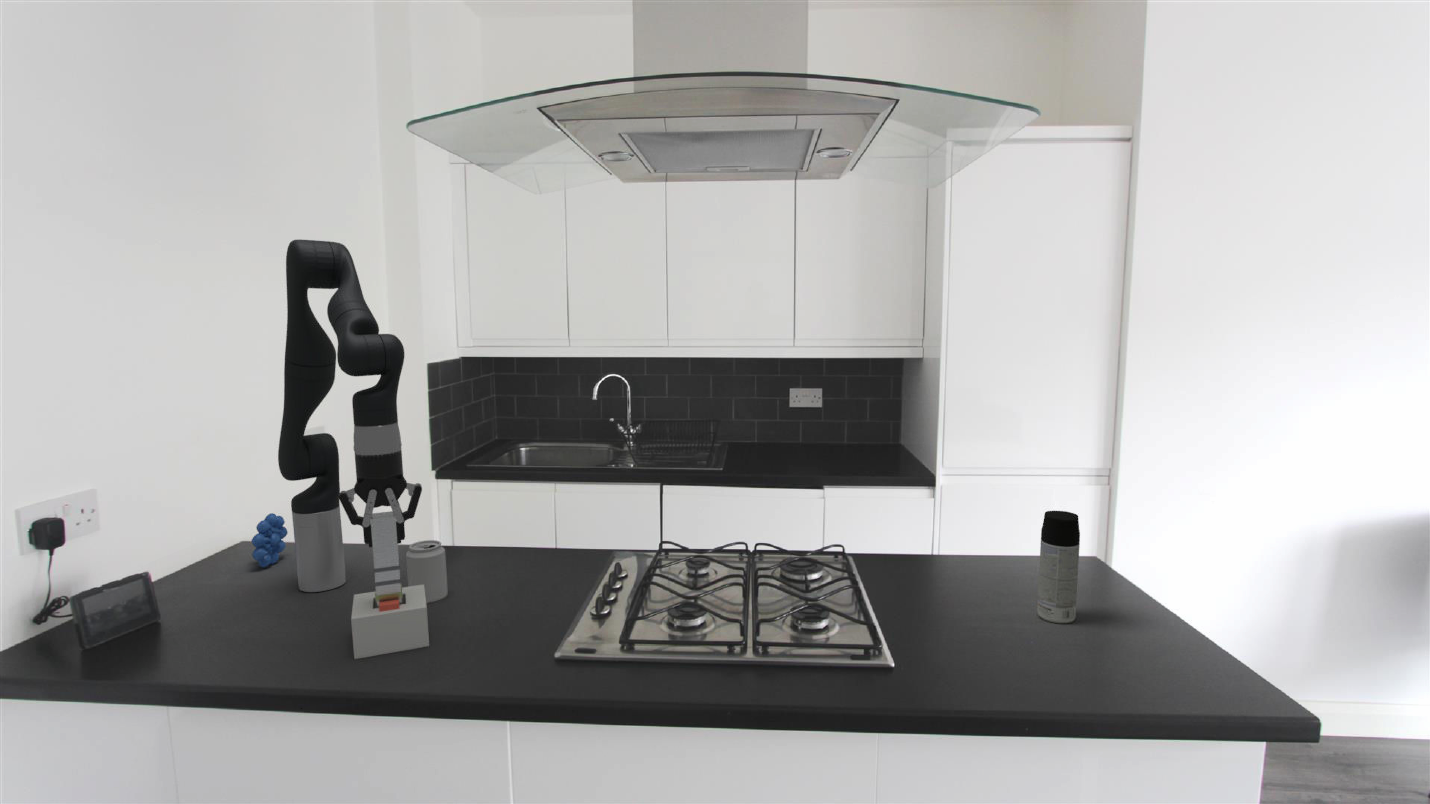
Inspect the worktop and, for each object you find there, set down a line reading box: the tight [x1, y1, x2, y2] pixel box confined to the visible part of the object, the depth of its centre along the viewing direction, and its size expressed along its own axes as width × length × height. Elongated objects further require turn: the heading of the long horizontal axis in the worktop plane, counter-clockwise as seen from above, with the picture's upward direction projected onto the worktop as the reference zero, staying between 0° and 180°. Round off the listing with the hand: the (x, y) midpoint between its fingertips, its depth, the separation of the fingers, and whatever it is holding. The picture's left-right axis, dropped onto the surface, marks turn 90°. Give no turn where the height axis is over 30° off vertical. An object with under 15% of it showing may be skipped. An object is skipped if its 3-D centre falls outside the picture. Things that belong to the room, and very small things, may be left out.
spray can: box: [1037, 510, 1081, 624], centre depth 145 cm, size 7×7×20 cm
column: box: [371, 511, 403, 608], centre depth 137 cm, size 4×4×16 cm
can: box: [405, 539, 449, 604], centre depth 158 cm, size 8×8×12 cm
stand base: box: [350, 585, 430, 660], centre depth 139 cm, size 14×14×9 cm
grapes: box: [251, 513, 289, 568], centre depth 182 cm, size 12×7×12 cm, turn 177°
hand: (385, 543), depth 137 cm, fingers closed on column, 4 cm apart
